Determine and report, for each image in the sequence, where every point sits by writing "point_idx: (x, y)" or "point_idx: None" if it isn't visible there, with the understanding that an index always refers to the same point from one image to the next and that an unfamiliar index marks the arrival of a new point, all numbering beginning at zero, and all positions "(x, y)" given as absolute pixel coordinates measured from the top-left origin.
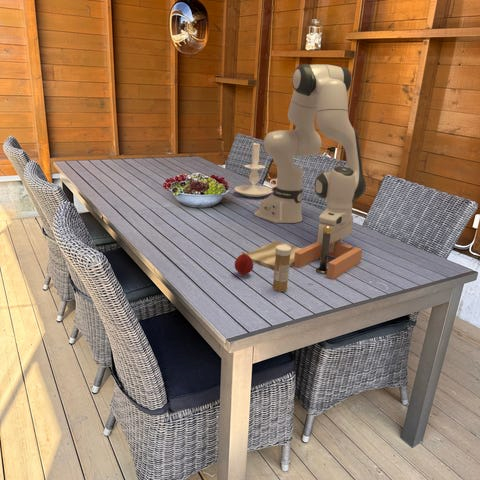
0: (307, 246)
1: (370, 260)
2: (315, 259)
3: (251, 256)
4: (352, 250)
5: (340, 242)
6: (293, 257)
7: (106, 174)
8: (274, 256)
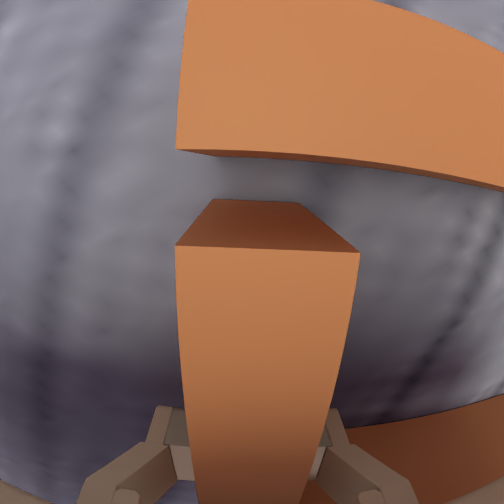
0: None
1: (87, 33)
2: (424, 417)
3: None
4: (465, 136)
5: (137, 467)
6: None
7: None
8: None
